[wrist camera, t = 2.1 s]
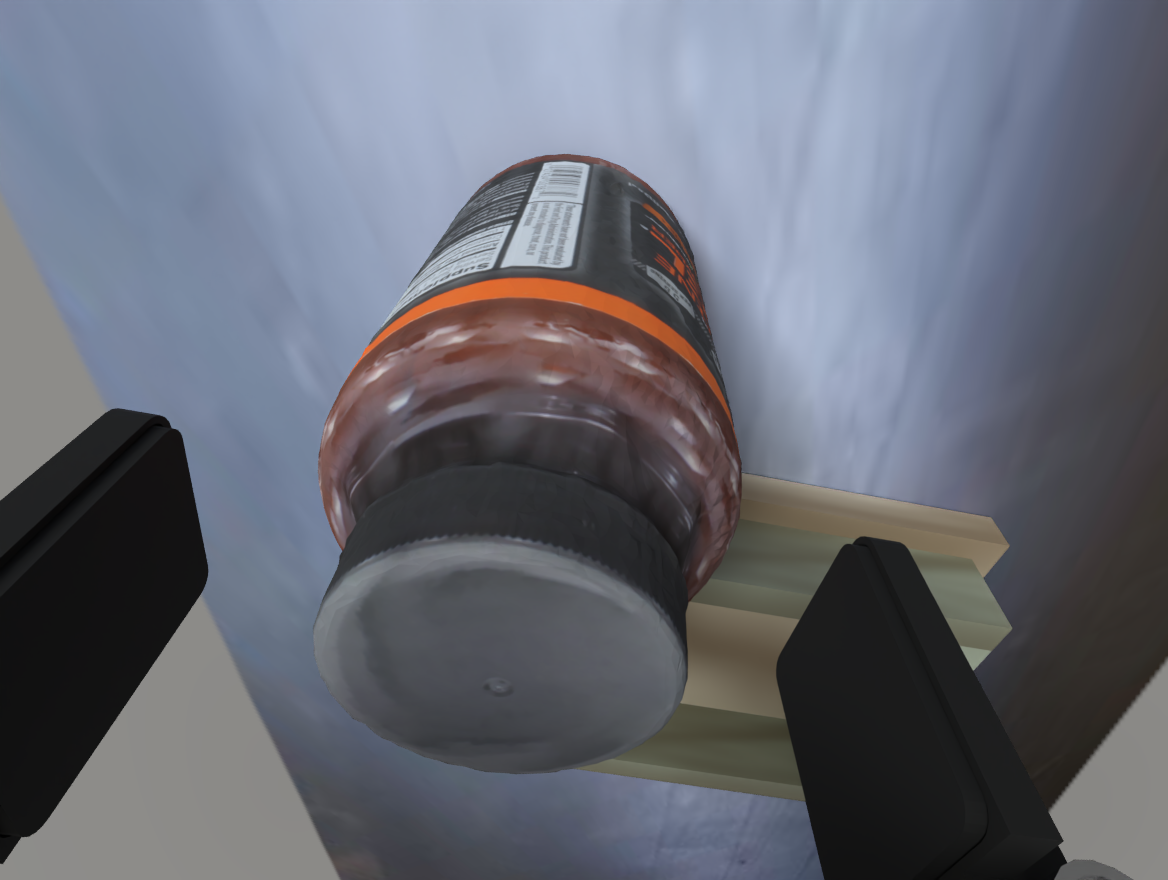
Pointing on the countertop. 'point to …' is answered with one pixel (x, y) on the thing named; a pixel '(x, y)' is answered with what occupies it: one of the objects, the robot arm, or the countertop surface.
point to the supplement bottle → (530, 481)
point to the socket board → (773, 609)
